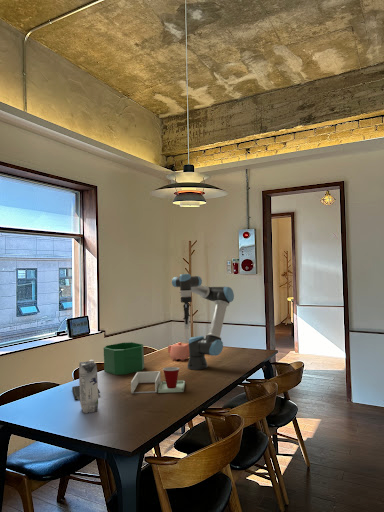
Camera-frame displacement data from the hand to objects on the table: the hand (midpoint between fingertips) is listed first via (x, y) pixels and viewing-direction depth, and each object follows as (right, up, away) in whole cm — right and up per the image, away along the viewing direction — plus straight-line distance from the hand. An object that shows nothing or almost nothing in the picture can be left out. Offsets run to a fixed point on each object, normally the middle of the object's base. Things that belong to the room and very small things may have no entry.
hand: (187, 327), depth 271 cm
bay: (-26, -35, -17) cm, 47 cm away
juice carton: (-53, -36, -55) cm, 84 cm away
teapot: (-6, -37, +57) cm, 68 cm away
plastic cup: (-10, -34, -21) cm, 41 cm away
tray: (-10, -35, -21) cm, 41 cm away
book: (-63, -38, -24) cm, 77 cm away
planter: (-49, -38, +32) cm, 70 cm away
